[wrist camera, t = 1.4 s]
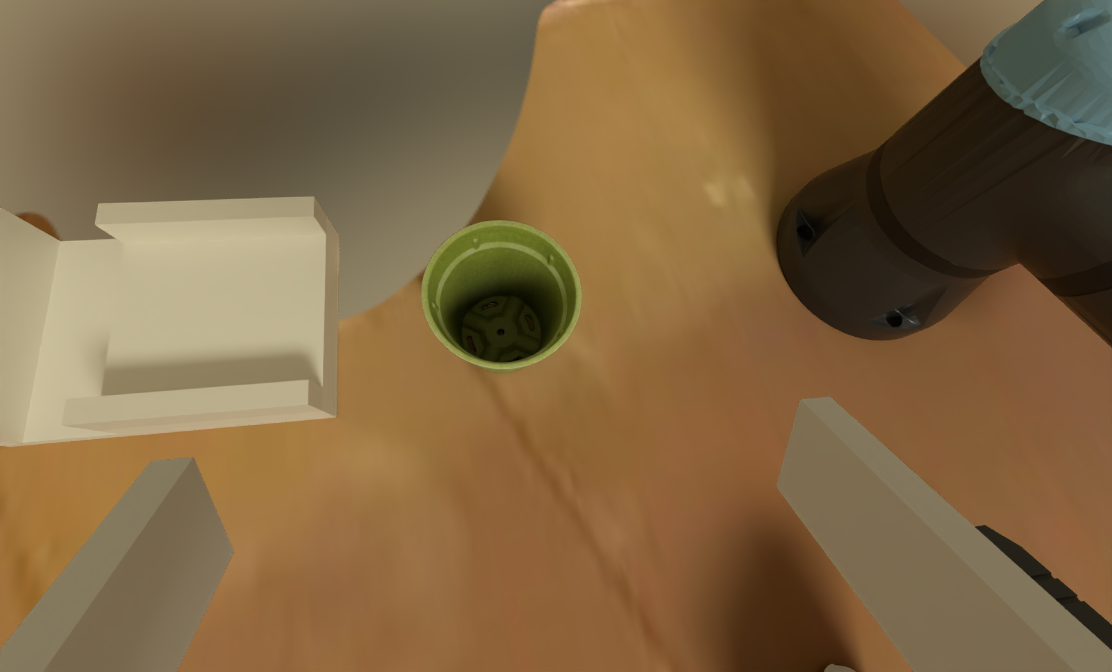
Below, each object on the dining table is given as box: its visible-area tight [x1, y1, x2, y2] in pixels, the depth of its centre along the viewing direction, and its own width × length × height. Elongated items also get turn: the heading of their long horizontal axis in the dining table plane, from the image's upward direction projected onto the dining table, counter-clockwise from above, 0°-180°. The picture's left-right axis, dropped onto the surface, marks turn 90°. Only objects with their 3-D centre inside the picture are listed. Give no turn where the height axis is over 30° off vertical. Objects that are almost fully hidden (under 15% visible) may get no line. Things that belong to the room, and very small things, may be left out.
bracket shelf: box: [0, 196, 339, 447], centre depth 26 cm, size 14×20×20 cm
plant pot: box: [421, 220, 582, 373], centre depth 34 cm, size 9×9×9 cm
